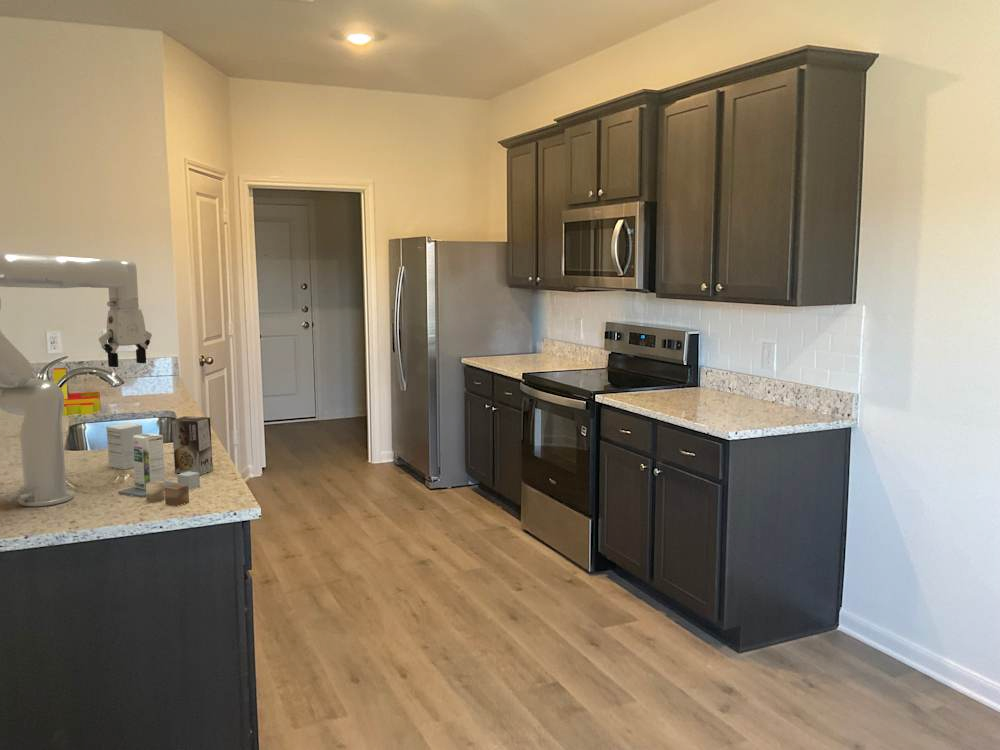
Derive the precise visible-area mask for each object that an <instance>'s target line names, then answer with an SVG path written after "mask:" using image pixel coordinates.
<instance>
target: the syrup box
mask: <svg viewBox="0 0 1000 750" xmlns="http://www.w3.org/2000/svg"><path fill="white" fill-rule="evenodd" d="M133 456H134V467H133V473H134V474H133V477H134V487H135V488H139V489H143V490H146V483H148V482H152V481H163V482H164V486H165V481H166V480H165V459H164V458H165V457H164V436H163V434H156V433H151V432H150V433H149V432H148V433H147V432H146V433H142V434H139V435H135V436H133Z"/></svg>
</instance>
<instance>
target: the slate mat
mask: <svg viewBox="0 0 1000 750" xmlns="http://www.w3.org/2000/svg"><path fill="white" fill-rule="evenodd" d="M174 484H178V482H172V481H166V480H165V486H164V492H165V487H168V486H171V485H174ZM118 493H122V494H121V495H123V494H128V495H127V496H130V495H133V496H132V497H136V496H138V498H142V497H144V498H146V497H145V496H146V490H143V489H139V488H135V486H132V487H129V488H126V489H122V490H119V491H118Z"/></svg>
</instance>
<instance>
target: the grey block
mask: <svg viewBox="0 0 1000 750" xmlns="http://www.w3.org/2000/svg"><path fill="white" fill-rule="evenodd" d="M176 476H177V478H176V479H177V483H178V484H182V485H188V489H191V490H193V489H192V488H194V489H196V488H195V487H197V488H199V487H198V486H200V487H201V480H200V476H201V475H199V473H197V472H190V471H188V472H184V473H181V474H177V475H176Z"/></svg>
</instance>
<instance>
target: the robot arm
mask: <svg viewBox="0 0 1000 750" xmlns="http://www.w3.org/2000/svg"><path fill="white" fill-rule="evenodd" d="M137 269H138V268H137V265H136V263H135V262H134V261H129V260H116V259H103V258H90V257H89V258H88V257H85V258H84V257H76V256H75V257H73V256H65V255H56V254H40V253H26V252H11V251H10V252H9V251H2V252H1V251H0V287H3V288H32V289H34V288H37V289H39V288H40V289H71V288H96V289H98V288H99V289H102V288H103V289H108V301H107V302H106V306H107V307H109V310H107V317H106V318H107V319H106V332H105V333H104V334H103V335H101V336H100V337H98V342H99V344H100V345H101V348H102V349H103V350H104V352H105V353H106V354H107V363H108V367H110V368H118V367H119V355H118V352H117V350H118V349H119V347H120V346H121V347H122V346H125V347H127V346H135V347H136V350H135V355H136V356H135V357H136V363H137V364H147V353H146V350H148V346H149V345H150V344H151V339H152V335H153V334H152V332H149V331H147V330H146V324H145V323H146V322H145V317H144V314H143V312H142V309H140V307H139V290H138V289H139V287H138V272H137V271H138V270H137ZM1 307H2V299H1V298H0V310H1ZM32 367H33V366H32V364H31V363H30V362H29V360H28V359H27V357H26V356H25V355H24V354H23V353H22V352H21V351H19V349H18V348H17V347H16V346H15V345H13V343H12V342H11V341H10V340H9V339H8V338H7V337H6V336H5V334H4V333H3V332H2V330H1V329H0V410H2V411H4V412H6V413H8V414H13V415H18V416H19V415H20V416H21V415H22V416H23V421H22V423H21V426H20V427H21V428H20V432H19V437H20V438H19V440H20V447H21V449H20V450H21V461H22V463H21V464H22V475H23V476H22V477H23V485H21V486H20V485H19V490H17V491H16V492H10V493H8V494H6V495H5V499H6V501H7V502H13V501H16V500H17V501H18V504H19V505H21V506H25V507H46V506H51V505H52V506H53V505H57V504H61V503H62V504H63V503H65V502H68V501H71V500H72V499H73V498H74V497H75V494H74V491H72V490H69V489H68V488H67V476H66V474H67V473H66V464H65V449H64V448H65V447H64V434H63V418H62V416H63V409H64V394H63V391H62V389H61V388H60V387H59V386H58V385H57V384H55V383H54V381H51V380H47V379H43V378H41V379H39V378H33V368H32Z"/></svg>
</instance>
